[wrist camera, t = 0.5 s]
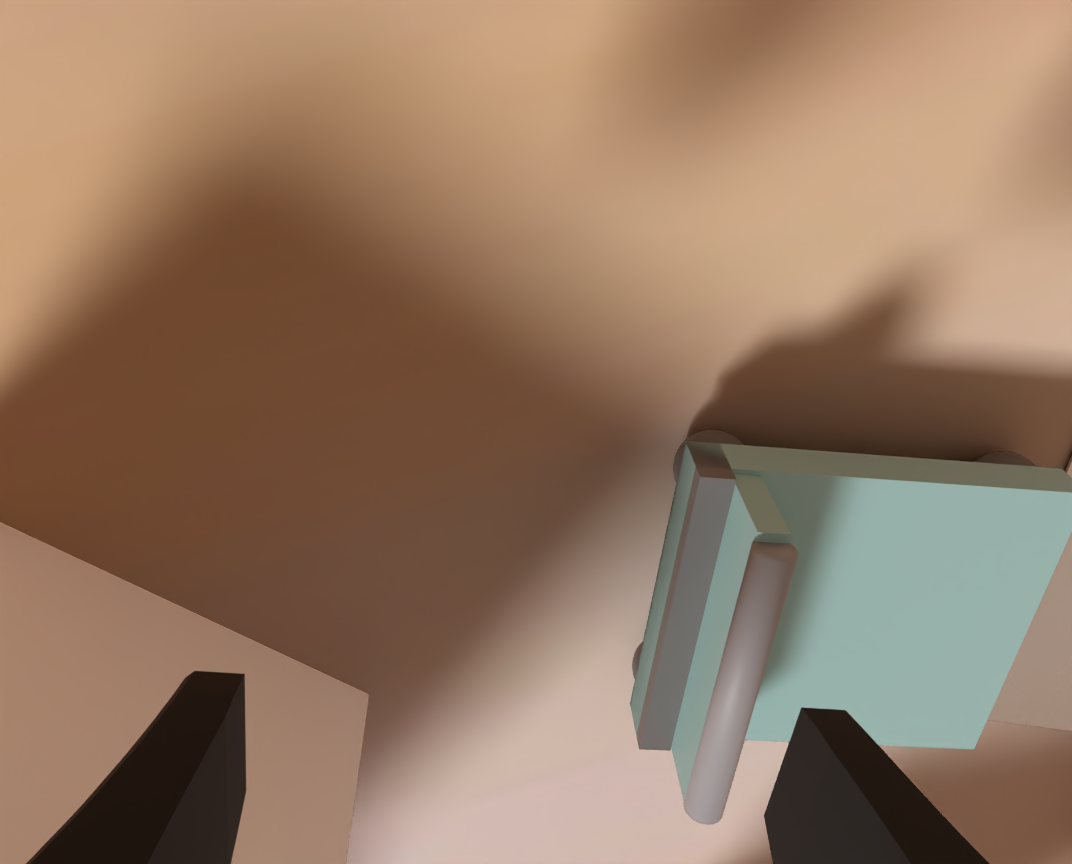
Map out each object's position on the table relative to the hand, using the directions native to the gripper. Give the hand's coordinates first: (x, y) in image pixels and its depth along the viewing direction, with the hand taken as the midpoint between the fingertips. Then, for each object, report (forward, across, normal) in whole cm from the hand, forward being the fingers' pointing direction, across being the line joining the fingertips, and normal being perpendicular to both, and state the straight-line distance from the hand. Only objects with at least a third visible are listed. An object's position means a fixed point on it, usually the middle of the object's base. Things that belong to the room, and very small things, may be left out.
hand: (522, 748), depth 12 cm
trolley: (+9, -8, +3) cm, 12 cm away
